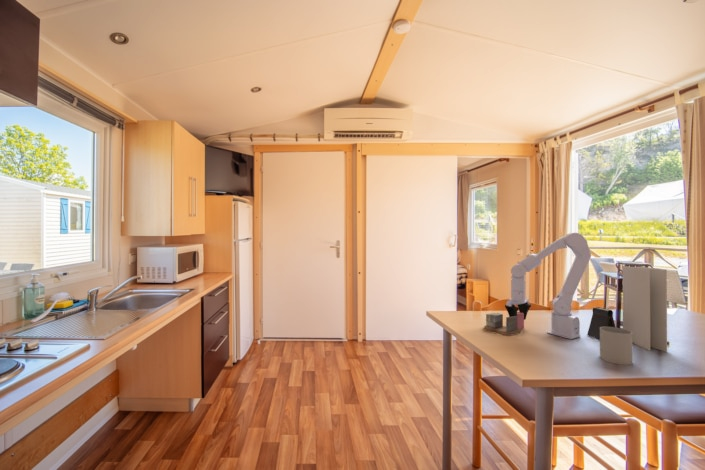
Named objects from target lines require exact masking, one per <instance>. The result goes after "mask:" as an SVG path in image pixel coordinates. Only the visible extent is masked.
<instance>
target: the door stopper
mask: <svg viewBox="0 0 705 470" xmlns="http://www.w3.org/2000/svg"><path fill="white" fill-rule="evenodd" d="M591 315H592V316H591V320H590V323H589V327H588V330H587V334H586V335H587V336H589V337H592V338H594V339H599V340H600V327H615V328H617V327H616V324H615V320H614V311H613V310H612V309H608V308H603V307H599V306H593V307H592V314H591Z"/></svg>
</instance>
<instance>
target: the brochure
mask: <svg viewBox="0 0 705 470" xmlns="http://www.w3.org/2000/svg"><path fill="white" fill-rule="evenodd" d="M667 273H668V271H667V269H661V268H653V267H647V266H640V265H639V266H638V265H637V266H628V265H627V266H625V265H622V329H625V330H628V331H631V332H632V344H634V345H637V346H639V347H641V348H643V349H645V350H647V351H651V348H654V349H655V350H660V351H663V352H666V353H667V352H668V294H667V293H668V287H667V286H668V283H667V281H668V280H667V279H668V277H667V276H668V275H667Z"/></svg>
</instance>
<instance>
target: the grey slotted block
mask: <svg viewBox="0 0 705 470" xmlns="http://www.w3.org/2000/svg"><path fill="white" fill-rule="evenodd" d="M485 316H486V317H485V325H483V326H484V327H483V328H484V329H485V330H488V331H491V332H495V333H498V334H502V335H505V336H509V337H510V336H515V335H517V334H521V330H522V329H519V330H518V329H517V316H511V317H509V316H507V317H506V318H505V320H506V321H505V325H504V322H503V319H504V317H503V316H504V315H503V313H499V312H489V313H485Z"/></svg>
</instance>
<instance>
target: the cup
mask: <svg viewBox="0 0 705 470" xmlns="http://www.w3.org/2000/svg"><path fill="white" fill-rule="evenodd" d="M615 327H616V326H615ZM615 327H600V339H599V358H600V359H601V360H604V361H606V362H609V363H613V364H616V365H624V366H625V365H626V366H628V365H629V366H630V365H632V364H633V343H632V332H631V331H628V330H625V329H623V328H620V327H616V328H615Z"/></svg>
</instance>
